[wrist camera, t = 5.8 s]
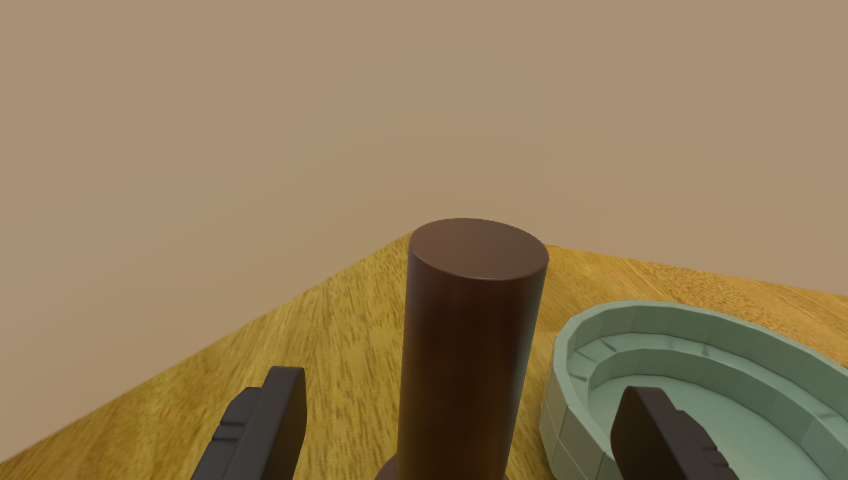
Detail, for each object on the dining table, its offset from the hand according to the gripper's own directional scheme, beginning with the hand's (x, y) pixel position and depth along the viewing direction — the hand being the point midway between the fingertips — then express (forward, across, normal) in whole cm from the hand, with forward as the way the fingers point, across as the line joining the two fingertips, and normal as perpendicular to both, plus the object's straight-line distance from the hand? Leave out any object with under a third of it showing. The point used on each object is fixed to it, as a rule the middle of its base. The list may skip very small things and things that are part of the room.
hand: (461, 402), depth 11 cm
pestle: (+1, 0, +9) cm, 9 cm away
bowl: (+6, -12, +9) cm, 16 cm away
